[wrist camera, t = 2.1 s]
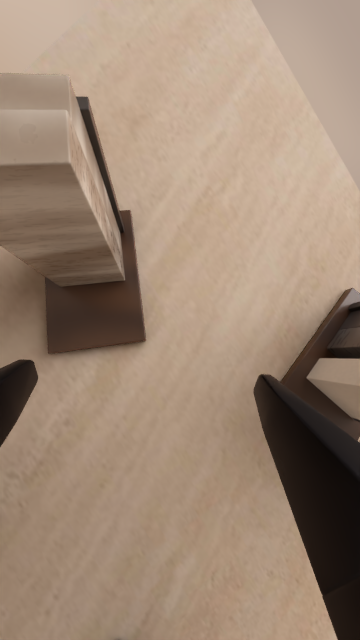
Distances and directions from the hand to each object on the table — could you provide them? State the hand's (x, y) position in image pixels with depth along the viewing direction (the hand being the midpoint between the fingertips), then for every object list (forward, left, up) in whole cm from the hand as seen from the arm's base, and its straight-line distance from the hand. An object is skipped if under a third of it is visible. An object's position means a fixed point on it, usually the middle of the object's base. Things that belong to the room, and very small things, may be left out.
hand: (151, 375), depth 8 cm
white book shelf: (+11, -5, -14) cm, 19 cm away
